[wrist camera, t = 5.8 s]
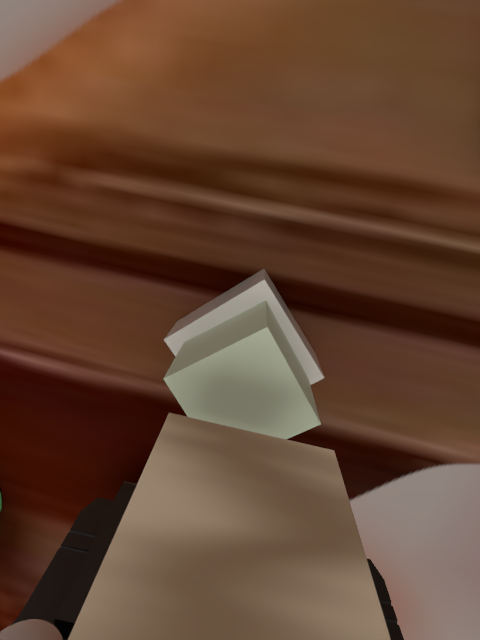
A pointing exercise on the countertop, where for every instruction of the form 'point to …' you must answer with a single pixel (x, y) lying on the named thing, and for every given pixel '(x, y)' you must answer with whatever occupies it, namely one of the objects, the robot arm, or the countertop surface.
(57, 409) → the countertop surface
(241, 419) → the sage cube
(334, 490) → the birch block
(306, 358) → the slab
